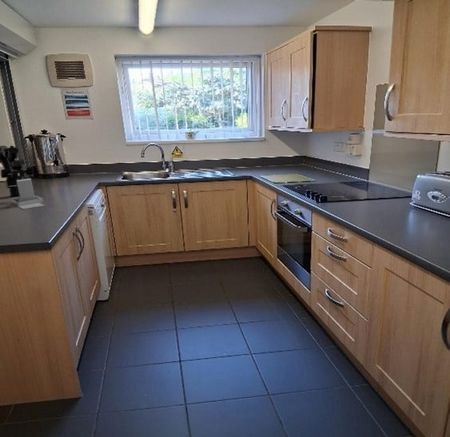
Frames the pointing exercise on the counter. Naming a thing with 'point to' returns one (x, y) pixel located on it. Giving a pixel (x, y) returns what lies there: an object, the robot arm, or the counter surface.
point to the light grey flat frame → (19, 202)
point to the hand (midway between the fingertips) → (21, 182)
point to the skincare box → (25, 189)
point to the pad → (30, 205)
